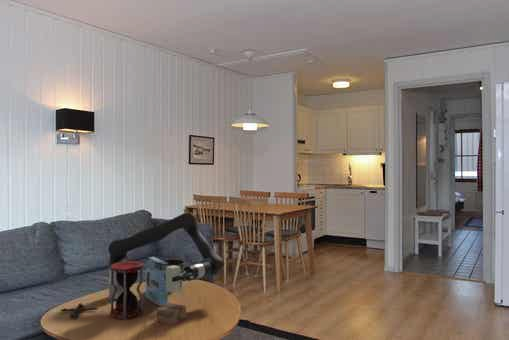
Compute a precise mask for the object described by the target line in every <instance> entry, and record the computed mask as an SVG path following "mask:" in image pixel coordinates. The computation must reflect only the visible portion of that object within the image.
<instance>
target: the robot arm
mask: <svg viewBox="0 0 509 340" xmlns="http://www.w3.org/2000/svg"><path fill="white" fill-rule="evenodd" d="M198 225H199V224H198V222H197V218H196V216H195V215H194V214H193V213H192V212H184V213H182V214H180V215H177V216H176V217H173V218H171V219H169V220H166V221H164V222H160V223H159V224H156V225H152V226H150V227H147V228H145V229H143V230H140V231H139V232H136V233H135V234H134V235H131V236H128V237H126V238H119V237H118V238H115V239H113V240H112V241H111V242H110V243H109V245H108V247H107V248H108V253H109V262H108V300H110V301H111V296H112V294H113V293H114V287H113V286H112V284H111V270H110V266H111V265H112V264H115V263H119V262H128V261H127V259H128V252H131V251H133V250H135V249H139V248H142V247H145V246H148V245H152V244H154V243H157V242H159V241H162V240H163V239H165V238H166V237H167V236H169V235H171V233H173V232H174V231H178V230H180V229H183V230H184V232H186V233H187V235H188V236H189V237H190V238H191V239H192V241H193V242H194V244H195V247H196V248H197V250H198V252H199V253H200V255H201V257H202V258H203V259H204V261H205V262H204V261H202V262H200V263H193V264H190V265H186V266H184V268H183V270H180V275H179V276H176V277H173V278H172V282H175V281H181V280H182V282H186V281H187V282H188V281H189V282H190V281H193V280H196V279H197V280H198V279H200V278H202V277H206V276H216V275H217V274H218V273H220V271H221V270H222V269H223V268H224V266H225V260H224V258H223V257H222V256H220V255H219V254H218V253H217V252H216V251H215V250H214V249H213V247H212V246H211V245H210V243H209V241H208V240H207V239H206V238H205V236H204V235H203V234H202V232H201V230H200V227H199V226H198ZM208 260H211V261H210V262H208ZM165 280H166V275H165ZM113 282H114V285H115V286H116V287H117V292H116V294H115V295H114V297H113V301H114V300H115V301H116V300H117V298H118V297H119V295H120V294H121V293H122V292H123V291H124V288H123V287H122V286H121V285H119V283H118V282H117V280H116V272H115V271H114V274H113Z"/></svg>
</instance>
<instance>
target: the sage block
mask: <svg viewBox="0 0 509 340" xmlns="http://www.w3.org/2000/svg"><path fill="white" fill-rule="evenodd" d="M179 275H180V266H175V265H172V266H168V267H166V291H167V292H168V293H170V294H174V293H177V292H180V291H181V288H180V281H175V282H172V278H173V277H176V276H179Z"/></svg>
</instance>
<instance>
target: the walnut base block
mask: <svg viewBox="0 0 509 340" xmlns="http://www.w3.org/2000/svg"><path fill="white" fill-rule="evenodd" d="M186 317H187V306H186V305H183V304H182V305H181V304H177V303H171V302H169V303H168V304H166V305H164V306H161V307H160V306H159V307H158V308H156V322H160V323H164V324H170V325H176V324H177V323H179V322H180V321H182V320H184V319H186Z"/></svg>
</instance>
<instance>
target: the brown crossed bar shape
mask: <svg viewBox="0 0 509 340" xmlns="http://www.w3.org/2000/svg"><path fill="white" fill-rule="evenodd" d="M97 310H99V309H98V307H96V306H94V307H88V308H87V306H84V304H82V303H81V302H80V303H79V304H77V307H76V308H64V307H63V308H62V309H60V311H61V312H72V313H70V314H69V317H70V319H71V320H73V319H78V318H79V315H80V314H81V313H82V311H97ZM73 311H74V312H73Z"/></svg>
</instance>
